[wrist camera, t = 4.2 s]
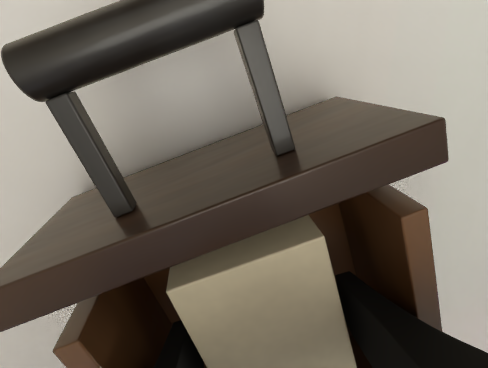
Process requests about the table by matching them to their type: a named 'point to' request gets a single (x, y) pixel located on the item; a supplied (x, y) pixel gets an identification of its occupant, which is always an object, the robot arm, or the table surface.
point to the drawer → (208, 186)
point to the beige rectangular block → (264, 302)
